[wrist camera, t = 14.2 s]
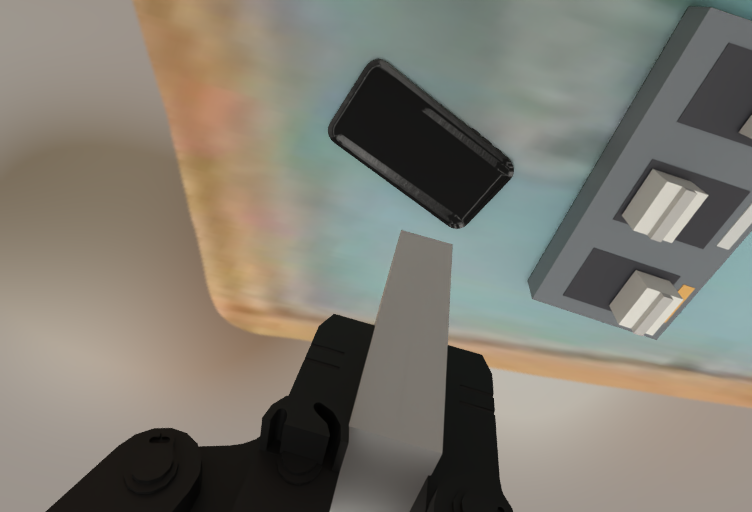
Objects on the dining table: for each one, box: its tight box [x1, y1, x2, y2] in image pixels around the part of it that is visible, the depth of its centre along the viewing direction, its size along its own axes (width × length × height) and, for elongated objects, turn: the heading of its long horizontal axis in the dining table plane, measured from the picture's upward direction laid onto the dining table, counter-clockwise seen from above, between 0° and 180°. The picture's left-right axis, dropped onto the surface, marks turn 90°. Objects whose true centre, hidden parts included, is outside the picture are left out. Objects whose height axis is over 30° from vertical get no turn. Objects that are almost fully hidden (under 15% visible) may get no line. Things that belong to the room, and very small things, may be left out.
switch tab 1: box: [622, 169, 708, 243], centre depth 32 cm, size 4×3×3 cm
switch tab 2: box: [609, 270, 684, 336], centre depth 36 cm, size 4×3×3 cm
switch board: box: [528, 6, 752, 340], centre depth 34 cm, size 24×12×3 cm, turn 164°
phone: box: [328, 59, 514, 229], centre depth 37 cm, size 8×1×15 cm
